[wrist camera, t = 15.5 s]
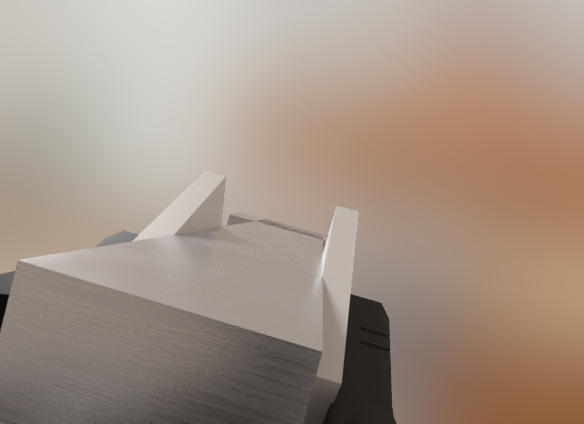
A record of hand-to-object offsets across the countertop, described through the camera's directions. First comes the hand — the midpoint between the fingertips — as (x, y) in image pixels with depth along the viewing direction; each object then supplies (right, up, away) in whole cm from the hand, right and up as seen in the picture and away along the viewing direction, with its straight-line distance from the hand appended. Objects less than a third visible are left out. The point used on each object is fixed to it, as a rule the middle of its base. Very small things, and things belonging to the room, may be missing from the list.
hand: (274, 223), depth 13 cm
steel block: (-1, -5, +1) cm, 5 cm away
